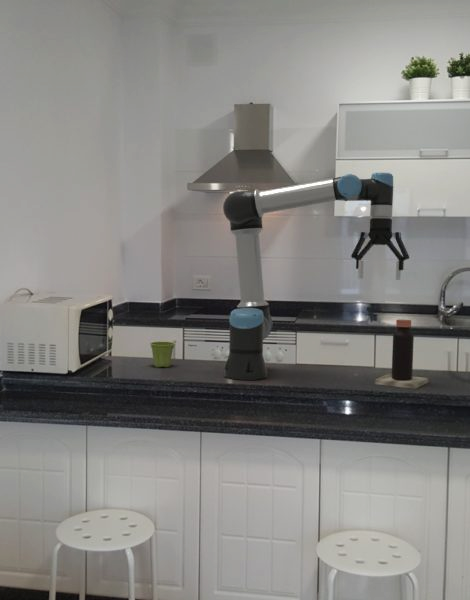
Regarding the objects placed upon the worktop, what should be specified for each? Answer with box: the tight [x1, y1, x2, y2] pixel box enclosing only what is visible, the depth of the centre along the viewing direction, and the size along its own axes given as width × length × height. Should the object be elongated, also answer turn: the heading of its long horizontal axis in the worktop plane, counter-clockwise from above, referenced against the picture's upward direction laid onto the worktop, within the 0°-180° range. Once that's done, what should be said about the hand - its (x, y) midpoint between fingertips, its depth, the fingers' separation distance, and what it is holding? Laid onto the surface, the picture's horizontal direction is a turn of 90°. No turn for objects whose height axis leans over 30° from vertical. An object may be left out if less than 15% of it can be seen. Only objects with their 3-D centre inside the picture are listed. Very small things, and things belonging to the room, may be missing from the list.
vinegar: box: [391, 318, 415, 381], centre depth 239 cm, size 7×7×20 cm
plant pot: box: [149, 341, 176, 368], centre depth 265 cm, size 9×9×9 cm
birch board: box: [374, 373, 429, 390], centre depth 240 cm, size 14×14×2 cm
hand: (379, 279), depth 247 cm, fingers open, 13 cm apart
